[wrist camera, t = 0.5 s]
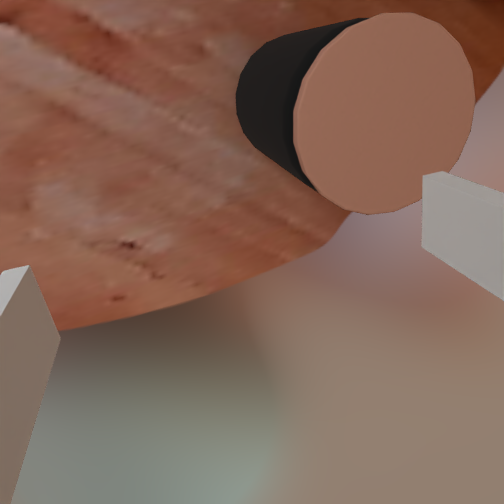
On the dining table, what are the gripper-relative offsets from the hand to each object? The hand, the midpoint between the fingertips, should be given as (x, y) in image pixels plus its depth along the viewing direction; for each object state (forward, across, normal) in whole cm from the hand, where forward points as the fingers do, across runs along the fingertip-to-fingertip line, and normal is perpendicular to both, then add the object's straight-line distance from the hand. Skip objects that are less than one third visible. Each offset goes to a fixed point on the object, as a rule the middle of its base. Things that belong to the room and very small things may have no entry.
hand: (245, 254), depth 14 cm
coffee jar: (+27, +10, +1) cm, 29 cm away
